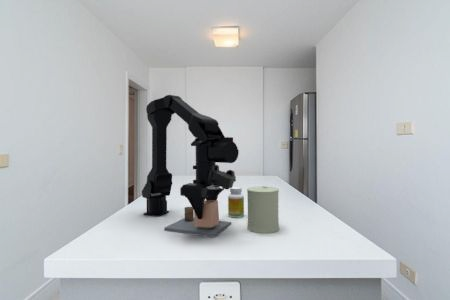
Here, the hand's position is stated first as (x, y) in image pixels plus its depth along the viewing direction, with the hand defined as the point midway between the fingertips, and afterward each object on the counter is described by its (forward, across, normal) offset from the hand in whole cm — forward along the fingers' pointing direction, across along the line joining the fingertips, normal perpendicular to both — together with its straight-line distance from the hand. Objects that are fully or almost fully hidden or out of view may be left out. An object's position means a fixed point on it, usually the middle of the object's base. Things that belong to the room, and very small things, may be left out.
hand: (206, 215), depth 76 cm
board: (+4, +1, +3) cm, 5 cm away
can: (+4, +7, -15) cm, 17 cm away
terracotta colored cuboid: (+2, 0, 0) cm, 3 cm away
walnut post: (+4, +4, +8) cm, 10 cm away
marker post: (+4, 0, 0) cm, 4 cm away
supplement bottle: (+4, +17, -3) cm, 18 cm away
